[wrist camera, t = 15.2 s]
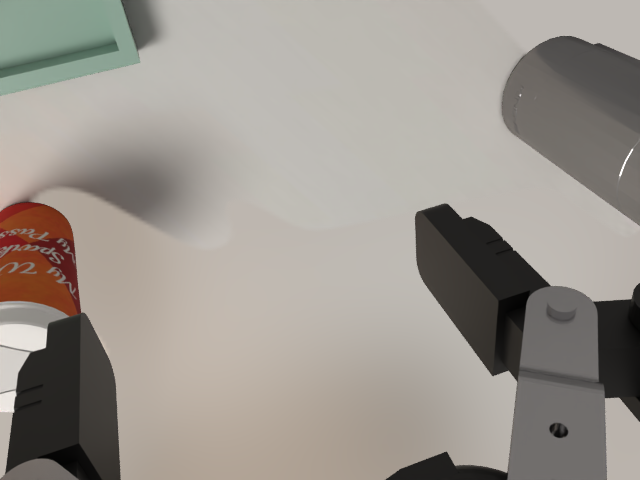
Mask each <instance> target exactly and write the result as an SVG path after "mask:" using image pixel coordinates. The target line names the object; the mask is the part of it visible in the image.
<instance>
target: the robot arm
mask: <svg viewBox="0 0 640 480" xmlns="http://www.w3.org/2000/svg"><path fill="white" fill-rule="evenodd" d="M502 115H503V118H504V122H505V124H506V126H507V127H508V129H509V130H510V131H511V132H512V133H513V134H514V135H515V136H517V137H518V138H519V139H521V140H522V141H524V142H525V143H526V144H528V145H529V146H530V147H532V148H533V149H535V150H536V151H537V152H539V153H540V154H541V155H542V156H544V157H545V158H547V159H548V160H549V161H551V162H552V163H554V164H555V165H556V166H558V167H559V168H560V169H562V170H563V171H565V172H566V173H567V174H569V175H570V176H571V177H573V178H574V179H576V180H577V181H578V182H580V183H581V184H583V185H584V186H585V187H587V188H588V189H589V190H591V191H592V192H594V193H595V194H596V195H598V196H599V197H600V198H602V199H603V200H605V201H606V202H607V203H609V204H610V205H612V206H613V207H614V208H616V209H617V210H618V211H620V212H621V213H623V214H624V215H625V216H627V217H628V218H630V219H631V220H633V221H634V222H635V223H637V224H638V225H639V226H640V60H637V59H635V58H633V57H630V56H628V55H626V54H623V53H621V52H619V51H616V50H614V49H612V48H609V47H607V46H604V45H602V44H600V43H598V44H594V45H593V44H591V43H589V42H586V41H584V40H582V39H579V38H576V37H572V36H560V37H556V38H552V39H549V40H547V41H545V42H543V43H541V44H539V45H538V46H536V47H535V48H533V49H532V50H531V51H529V52H528V53H527V54H526V55H525V56H524V57H523V58H522V59H521V61H520V62H519V63H518V65H517V66H516V67H515V69H514V70H513V72H512V74H511V75H510V77H509V79H508V81H507V84H506V87H505V90H504V93H503V99H502ZM415 229H416V258H417V266H418V270H419V273H420V275H421V278H422V280H423V282H424V283H425V285H426V286H427V288H428V289H429V290H430V292H431V293H432V294H433V296H434V297H435V298H436V300H437V301H438V303H439V304H440V305H441V307H442V308H443V309H444V311H445V312H446V313H447V315H448V316H449V318H450V319H451V320H452V321H453V323H454V324H455V325H456V327H457V328H458V330H459V331H460V332H461V334H462V335H463V336H464V338H465V339H466V341H467V342H468V343H469V344H470V346H471V347H472V349H473V350H474V351H475V353H476V354H477V356H478V357H479V358H480V360H481V361H482V362H483V364H484V365H485V366H486V368H487V369H488V370H489V372H490V373H491V375H492V376H494V375H497V374H500V373H503V372H506V371H510V373H511V374H512V375H513V376H514V378H515V379H516V380H517V391H516V401H515V409H514V418H513V427H512V436H511V445H510V454H509V464H508V472H507V473H505V472H503V471H500V470H496V469H492V468H488V467H482V466H474V465H459V466H455V465H454V464H453V462H452V460H451V458H450V457H449V455H448V453H447V452H444V453H442V454H439V455H437V456H434V457H431V458H429V459H426V460H423V461H421V462H418V463H415V464H413V465H410V466H408V467H405V468H402V469H400V470H399V471H397V472H396V473H395V474H393V475H392V476H390V477H389V478H387V479H386V480H607V467H606V427H605V398H617V397H619V398H620V399H621V400H622V401H623V402H624V404H625V405H626V406H627V407H628V409H629V410H630V411H631V412H632V413H633V415H634V416H635V417H636V418H637V419H638V420H639V422H640V283H639V284H638V285H637V286H636V287H635V289H634V292H633V296H632V299H630V300H614V301H599V302H593V301H592V300H591V299H590V298H589V297H587V296H586V295H585V294H583V293H581V292H579V291H577V290H575V289H571V288H568V287H562V286H550V285H549V284H548V283H547V282H546V281H545V280H544V279H543V278H542V277H541V276H540V275H539V274H538V273H537V272H536V271H535V270H534V269H533V268H532V267H531V266H530V265H529V264H528V263H527V262H526V261H525V260H524V259H523V258H522V257H521V256H520V255H519V254H518V253H517V252H516V251H513V248H512V247H511V246H510V245H509V244H508V243H507V242H506V241H505V240H504V241H503V239H502V237H501V236H500V235H499V234H498V233H497V232H496V231H495V230H494V229H493V228H492V227H491V226H490V225H488V224H486V223H484V222H482V221H479V220H477V219H475V218H473V217H469V218H466V219H462V218H461V217H460V216H459V215H458V214H457V213H456V212H455V211H454V210H453V209H452V208H451V207H450V206H449V205H448V204H441V205H438V206H435V207H431V208H428V209H425V210H421V211H418V212H417V213H416V216H415ZM0 480H121V479H120V460H119V440H118V421H117V401H116V384H115V377H114V373H113V369H112V366H111V363H110V360H109V358H108V356H107V354H106V352H105V350H104V348H103V346H102V344H101V342H100V340H99V338H98V336H97V334H96V332H95V330H94V328H93V326H92V324H91V322H90V320H89V319H88V317H87V315H86V314H85V313H80V314H77V315H73V316H70V317H67V318H63V319H60V320H56V321H53V322H50V323H49V324H48V327H47V339H46V348H43V349H40V350H37V351H34V352H30V354H29V355H28V357H27V359H26V360H25V362H24V364H23V366H22V367H21V369H20V371H19V372H18V378H17V386H16V397H15V401H14V413H13V418H12V426H11V433H10V442H9V449H8V458H7V466H6V472H5V475H4V476H3V477H2V478H1V479H0Z"/></svg>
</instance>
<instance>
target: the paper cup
mask: <svg viewBox="0 0 640 480" xmlns="http://www.w3.org/2000/svg"><path fill="white" fill-rule="evenodd" d="M80 313H81V308H80V300H79V290H78V281H77V269H76V257H75V247H74V239H73V233H72V229H71V226H70V224H69V222H68V220H67V219H66V218H65V217H64V215H62V214H61V213H60V212H59V211H57V210H56V209H54V208H52V207H50V206H47V205H44V204H40V203H33V202H26V203H18V204H14V205H12V206H9V207H7V208H5V209H4V210H2V211H1V212H0V412H14V401H15V397H16V386H17V378H18V372H19V371H20V369H21V367H22V366H23V364H24V362H25V360H26V359H27V357H28V355H29V354H30V352H34V351H37V350H40V349H43V348H46V339H47V327H48V324H49V323H50V322H53V321H56V320H60V319H63V318H67V317H70V316H73V315H77V314H80Z"/></svg>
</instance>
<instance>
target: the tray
mask: <svg viewBox="0 0 640 480" xmlns="http://www.w3.org/2000/svg"><path fill="white" fill-rule="evenodd" d="M137 63H140V58H139V54H138V50H137V47H136V44H135V41H134V37H133V34H132V31H131V28H130V25H129V22H128V19H127V16H126V13H125V9H124V6H123V3H122V0H0V96H2V95H6V94H10V93H14V92H19V91H23V90H27V89H31V88H36V87H40V86H44V85H48V84H52V83H57V82H61V81H65V80H69V79H74V78H78V77H82V76H86V75H91V74H95V73H99V72H103V71H107V70H112V69H116V68H120V67H124V66H129V65H133V64H137Z"/></svg>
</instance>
